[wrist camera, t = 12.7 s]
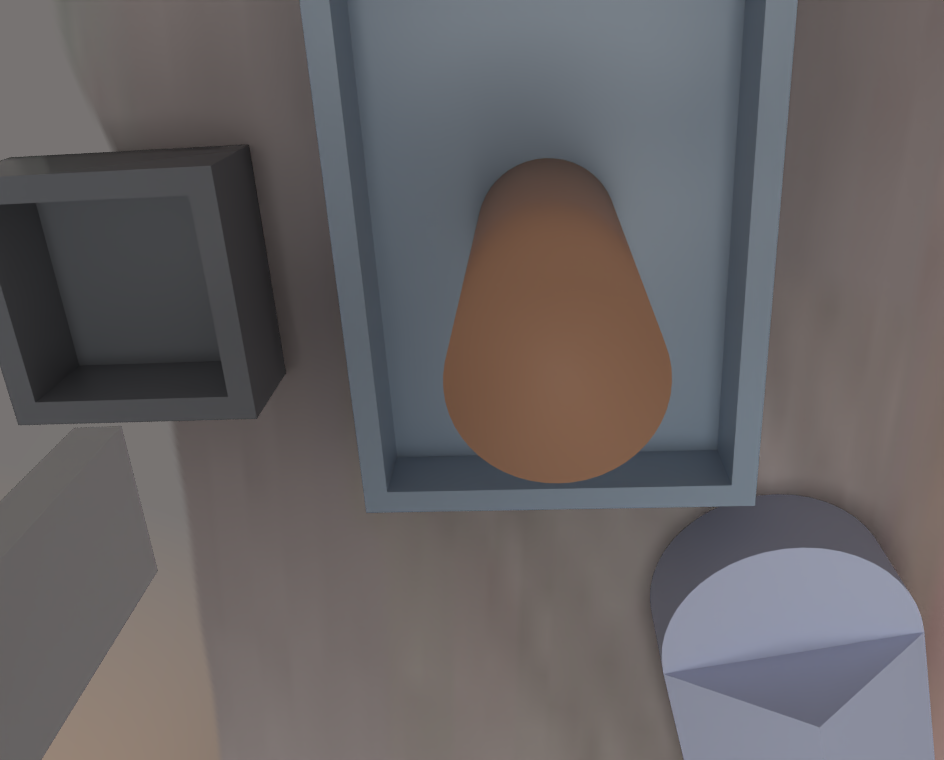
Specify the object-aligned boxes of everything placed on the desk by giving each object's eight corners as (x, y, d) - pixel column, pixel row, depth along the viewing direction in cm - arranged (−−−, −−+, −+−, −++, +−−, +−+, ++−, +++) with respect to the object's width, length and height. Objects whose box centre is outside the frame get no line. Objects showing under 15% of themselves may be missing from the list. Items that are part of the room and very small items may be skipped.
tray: (380, 468, 32) (366, 512, 30) (315, -74, 25) (289, -81, 22) (735, 460, 31) (755, 506, 29) (776, -108, 24) (807, -120, 21)
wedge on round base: (904, 735, 36) (877, 472, 31) (979, 886, 30) (962, 590, 25) (687, 765, 38) (629, 519, 33) (718, 916, 32) (652, 642, 27)
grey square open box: (71, 379, 32) (18, 425, 28) (10, 157, 28) (-58, 179, 25) (285, 373, 31) (256, 418, 28) (248, 144, 28) (210, 165, 24)
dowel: (481, 296, 29) (450, 485, 18) (473, 161, 27) (435, 279, 16) (615, 291, 28) (667, 481, 17) (617, 154, 27) (676, 271, 16)
